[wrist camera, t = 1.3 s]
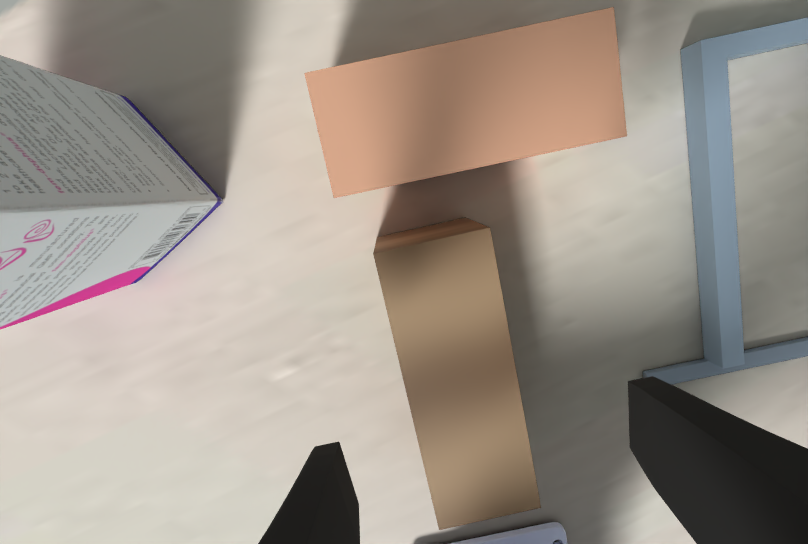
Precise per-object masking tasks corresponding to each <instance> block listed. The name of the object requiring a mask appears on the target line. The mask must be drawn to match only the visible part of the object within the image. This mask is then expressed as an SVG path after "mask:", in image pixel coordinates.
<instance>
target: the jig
mask: <svg viewBox="0 0 808 544" xmlns="http://www.w3.org/2000/svg"><path fill="white" fill-rule="evenodd" d="M805 43H808V17H807V18H802V19H798V20H793V21H788V22H784V23H779V24H774V25H770V26H765V27H760V28H756V29H751V30H746V31H742V32H737V33H732V34H728V35H723V36H718V37H714V38H709V39H704V40H700V41H698V42H696V43H694V44H692V45H690V46H687V47H685V48H683V49H681V61H682V74H683V87H684V100H685V113H686V126H687V139H688V153H689V166H690V179H691V192H692V205H693V218H694V231H695V244H696V257H697V270H698V283H699V296H700V309H701V322H702V335H703V348H704V359H700V360H695V361H690V362H685V363H681V364H676V365H671V366H666V367H662V368H657V369H652V370H647V371H643V378H646V377H651V376H654V377H656V378H658V379H660V380H662V381H665V382H667V383H669V384H676V383H681V382H686V381H691V380H695V379H700V378H705V377H710V376H714V375H719V374H724V373H729V372H734V371H738V370H743V369H748V368H753V367H758V366H762V365H767V364H772V363H777V362H782V361H786V360H791V359H796V358H801V357H806V356H808V337H805V338H800V339H796V340H791V341H786V342H781V343H776V344H772V345H767V346H762V347H757V348H752V349H748V350H744V343H743V325H742V308H741V290H740V273H739V255H738V238H737V220H736V203H735V186H734V168H733V151H732V133H731V116H730V98H729V81H728V63H727V60H730V59H735V58H740V57H744V56H749V55H754V54H758V53H763V52H768V51H772V50H777V49H782V48H786V47H791V46H796V45H801V44H805Z"/></svg>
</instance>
